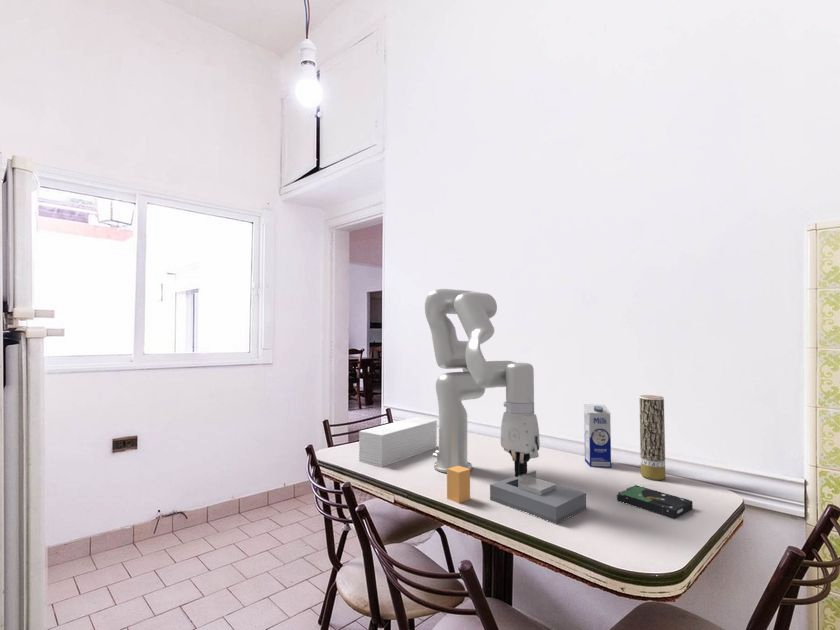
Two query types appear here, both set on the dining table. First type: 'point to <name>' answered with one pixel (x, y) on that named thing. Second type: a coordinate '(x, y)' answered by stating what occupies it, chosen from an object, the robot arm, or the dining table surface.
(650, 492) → the disk drive
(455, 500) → the plug
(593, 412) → the milk carton
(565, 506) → the socket block
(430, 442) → the stack of papers
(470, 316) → the robot arm
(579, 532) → the dining table surface
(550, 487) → the plate
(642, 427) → the paper tube
